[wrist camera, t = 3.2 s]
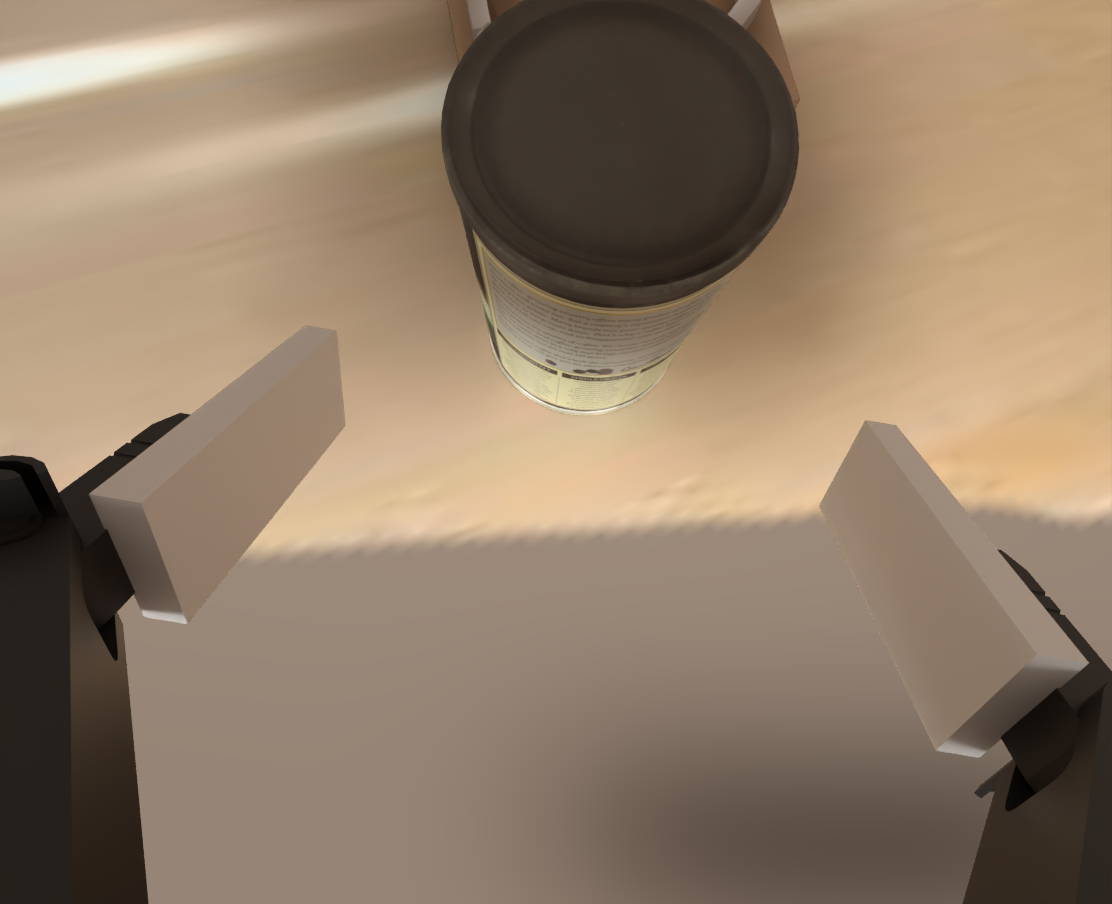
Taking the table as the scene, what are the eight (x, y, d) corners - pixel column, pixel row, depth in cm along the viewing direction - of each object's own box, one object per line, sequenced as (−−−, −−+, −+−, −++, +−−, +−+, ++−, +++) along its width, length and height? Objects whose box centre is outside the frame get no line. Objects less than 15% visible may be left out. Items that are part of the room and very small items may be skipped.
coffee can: (452, 292, 29) (375, 63, 16) (613, 207, 31) (676, -75, 17) (549, 454, 28) (559, 361, 14) (714, 359, 29) (872, 187, 15)
